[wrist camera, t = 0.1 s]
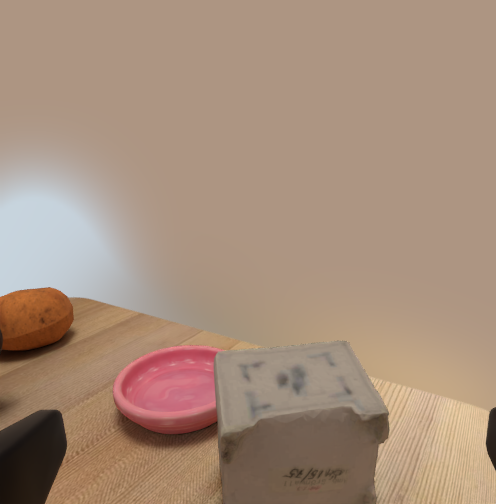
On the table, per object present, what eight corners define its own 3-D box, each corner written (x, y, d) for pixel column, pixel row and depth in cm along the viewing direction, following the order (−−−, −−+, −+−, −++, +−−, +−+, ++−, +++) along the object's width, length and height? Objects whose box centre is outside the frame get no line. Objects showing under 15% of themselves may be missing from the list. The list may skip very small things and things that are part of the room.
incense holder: (226, 570, 24) (214, 417, 21) (219, 463, 32) (210, 342, 29) (387, 546, 25) (396, 396, 22) (341, 448, 33) (343, 329, 30)
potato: (59, 360, 48) (49, 301, 47) (-40, 368, 48) (-55, 308, 46) (82, 327, 57) (74, 276, 55) (-1, 333, 56) (-12, 282, 55)
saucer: (185, 357, 48) (183, 333, 47) (272, 392, 40) (271, 364, 40) (89, 413, 38) (84, 383, 38) (180, 472, 31) (176, 437, 30)
